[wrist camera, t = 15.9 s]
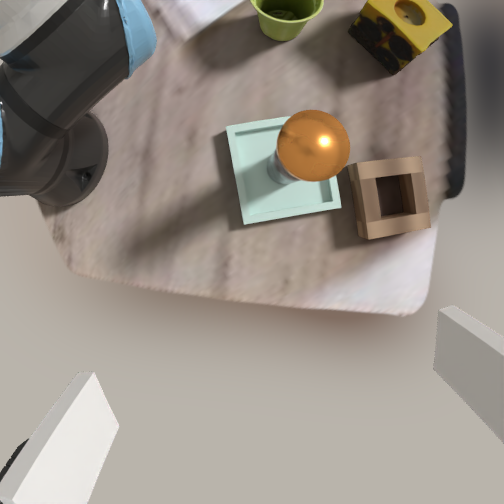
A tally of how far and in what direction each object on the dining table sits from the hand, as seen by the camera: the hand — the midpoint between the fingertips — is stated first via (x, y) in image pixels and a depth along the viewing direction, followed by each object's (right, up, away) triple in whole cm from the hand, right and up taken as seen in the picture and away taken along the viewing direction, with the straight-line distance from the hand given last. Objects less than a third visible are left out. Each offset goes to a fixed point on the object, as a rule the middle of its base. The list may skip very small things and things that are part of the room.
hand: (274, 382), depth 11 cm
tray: (+3, +16, +32) cm, 36 cm away
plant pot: (+3, +38, +28) cm, 47 cm away
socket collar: (+18, +13, +33) cm, 39 cm away
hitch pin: (+3, +16, +31) cm, 35 cm away
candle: (+21, +38, +29) cm, 52 cm away
